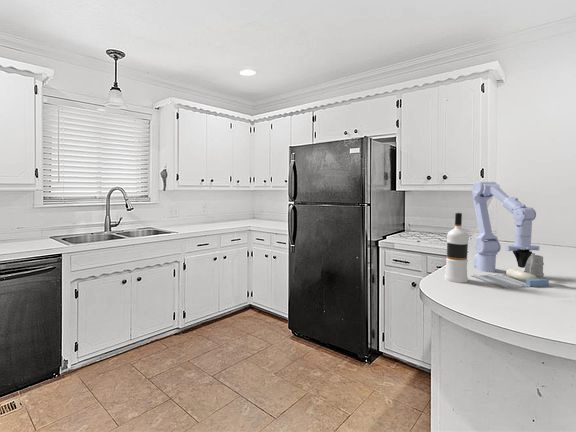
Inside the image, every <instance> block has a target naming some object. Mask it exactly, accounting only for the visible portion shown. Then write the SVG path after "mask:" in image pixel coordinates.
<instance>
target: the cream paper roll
mask: <svg viewBox="0 0 576 432" xmlns="http://www.w3.org/2000/svg"><path fill="white" fill-rule="evenodd" d="M505 273H506V274H505V275H507V276H508V277H511V278H514V279H517V280H520V281H523V282H526V279H538V277H536V276H535V275H533V274H529V273H526V272H524V271H522V270H520V269H519V270H518V269H516V268H512V267H509V268H508V269H506V272H505Z"/></svg>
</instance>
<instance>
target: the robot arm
mask: <svg viewBox="0 0 576 432" xmlns="http://www.w3.org/2000/svg"><path fill="white" fill-rule="evenodd" d="M471 193H472V198H473V199H472V201H473V202H472V203H473V206H474V212H475V217H476V222H477V223H476V224H477V227H478V233H479V235H478V236H476V238H475V245H474V247H475V248H474V249H475V251H476V252H477V253H475V255H474V256H473V257H474V258H473V270H474V269H476V270H478V271H480V272H485V273H495V272H496V261H497V255H498V254H499V252H500V251H501V248H502V246H501V243H500V241H499V239H498V237H497V236H496V235H495V234H493V230H492V226H491V220H490V215H489V210H488V204H487V202H488V200H490V199H492V198H493V197H494V198H496V199H497V200H499V201H500V202H502V204H503V206H502V207H504V208H505V209H506V210H507V211H508V212H509V213H511V214H512V218H513V220H514V224H515V225H514V226H515V232H514V233H515V235H514V244H513V245H512V244H511V245H505V248H504V249H505V251H506V252H512V254H513V255H514V257H515V260H516V263H517V267H518V268H524V269H525V265H526V262H527V260H528V258H529V257H530V255H532V253H533V251H540V245H536V244H535V245H534V244H533V245H532V234H533V233H532V231H533V230H532V229H533V221H534V220H536V218H537V212H536V210H535V209H534V207H530V206H526V204H524V203H523V202H521V201H519V197H515V196H509V195H508V194H507V193H506V192H505V191H504V190H503V189H502V188H501V187H500V184H498V183H497V182H495V181H475V182H474V184H473V185H472V187H471Z"/></svg>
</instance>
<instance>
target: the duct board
mask: <svg viewBox="0 0 576 432" xmlns="http://www.w3.org/2000/svg"><path fill="white" fill-rule="evenodd" d="M471 277H472V278H475V279H477V280H480V281H483V282H486V283H488V284H491V285H493V286H495V287H499V288H501V289H518V288H521V289H522V288H523V289H524V288H543V287H544V288H547V287H549V288H550V287H553V285H549V284H550V283H549V282H550V279H546V278H542V279H541V278H537V279H526V282H523V281H520V280H517V279H514V278H511V277H508V276H507V275H506V274H500V273H496V274H491V273H488V274H483V275H478V274H473V275H471Z"/></svg>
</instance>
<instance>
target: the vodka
mask: <svg viewBox="0 0 576 432" xmlns="http://www.w3.org/2000/svg"><path fill="white" fill-rule="evenodd" d="M454 215H455V218H454V227H453V228H452V229H451V230H449V231H448V232H447V233H446V242H447V244H446V258H445V261H446V262H445V263H446V264H445V265H446V266H445V272H444V275H443V279H444V280H445V281H446V282H450V283H451V282H452V283H457V284H458V283H459V284H463V283H464V284H465V283H468V282H469V278H468V261H469V260H468V253H469V251H468V249H469V239H470V235H469V233H468V232H467V231H466V230H464V229H463V228H462V227H463V226H462V223H463V222H462V221H463V213H462V212H455V214H454Z"/></svg>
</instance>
